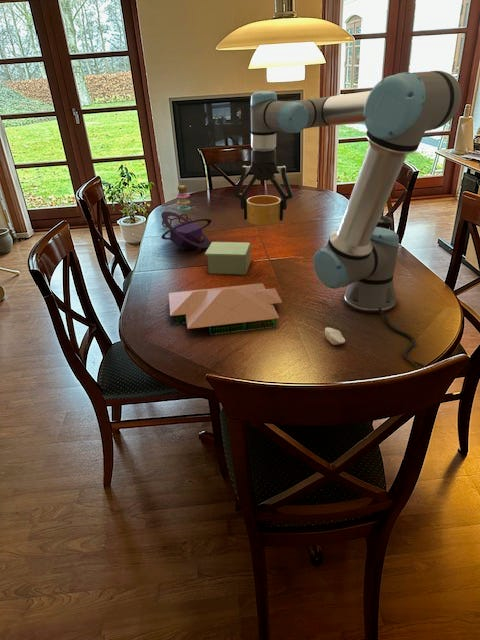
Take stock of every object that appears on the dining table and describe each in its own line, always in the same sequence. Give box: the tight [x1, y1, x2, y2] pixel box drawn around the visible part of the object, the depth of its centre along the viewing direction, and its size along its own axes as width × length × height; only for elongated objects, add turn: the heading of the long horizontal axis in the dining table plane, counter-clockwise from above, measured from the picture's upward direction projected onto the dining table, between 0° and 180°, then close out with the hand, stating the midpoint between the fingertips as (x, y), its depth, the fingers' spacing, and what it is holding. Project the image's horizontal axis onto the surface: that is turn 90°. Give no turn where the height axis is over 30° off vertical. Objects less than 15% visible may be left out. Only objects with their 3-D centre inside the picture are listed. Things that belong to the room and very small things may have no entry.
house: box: [168, 282, 283, 335], centre depth 132 cm, size 23×33×8 cm
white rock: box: [324, 326, 346, 346], centre depth 118 cm, size 7×5×4 cm
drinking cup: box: [376, 208, 393, 230], centre depth 164 cm, size 8×8×20 cm
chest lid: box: [204, 241, 251, 257], centre depth 160 cm, size 14×12×1 cm
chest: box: [206, 245, 252, 276], centre depth 162 cm, size 14×12×7 cm
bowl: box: [246, 194, 281, 227], centre depth 145 cm, size 11×11×7 cm
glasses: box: [161, 213, 199, 228], centre depth 201 cm, size 13×13×5 cm
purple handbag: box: [160, 184, 212, 252], centre depth 175 cm, size 22×21×25 cm
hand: (263, 218), depth 146 cm, fingers closed on bowl, 11 cm apart
